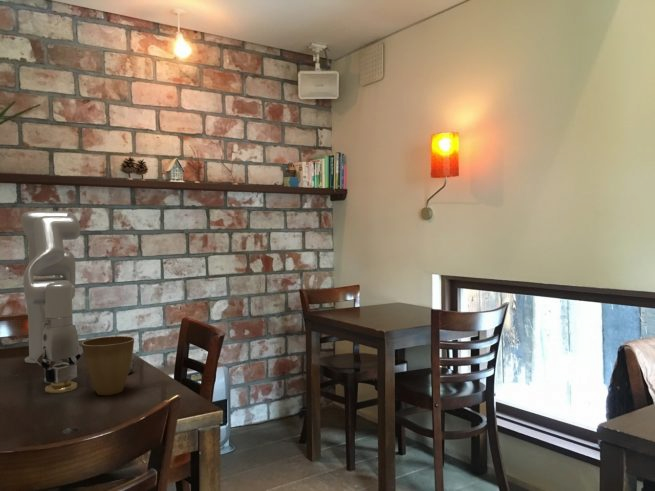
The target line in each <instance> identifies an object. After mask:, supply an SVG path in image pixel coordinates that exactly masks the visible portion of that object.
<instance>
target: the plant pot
mask: <svg viewBox="0 0 655 491" xmlns="http://www.w3.org/2000/svg"><path fill="white" fill-rule="evenodd" d="M134 343H135V338H134V337H133V336H125V335H124V336H123V335H115V336H111V335H110V336H103V337H96V338H91V339H88V340H87V339H86V340H84V341H82V342H81V347H82V348H83V353H82V354H83V357H84V361H85V364H86V369H87V372H88V375H89V378H90V381H91V383H92V385H93V388H94V390H95V392H96V394H97V395H99V396H113V395H116V394H120V393H121V392H123V391H124V388H125V385H126V382H127V379H128V376H129V374H128V372H129V368H130V364H131V361H132V359H133V353H134V346H135V345H134Z"/></svg>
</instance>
